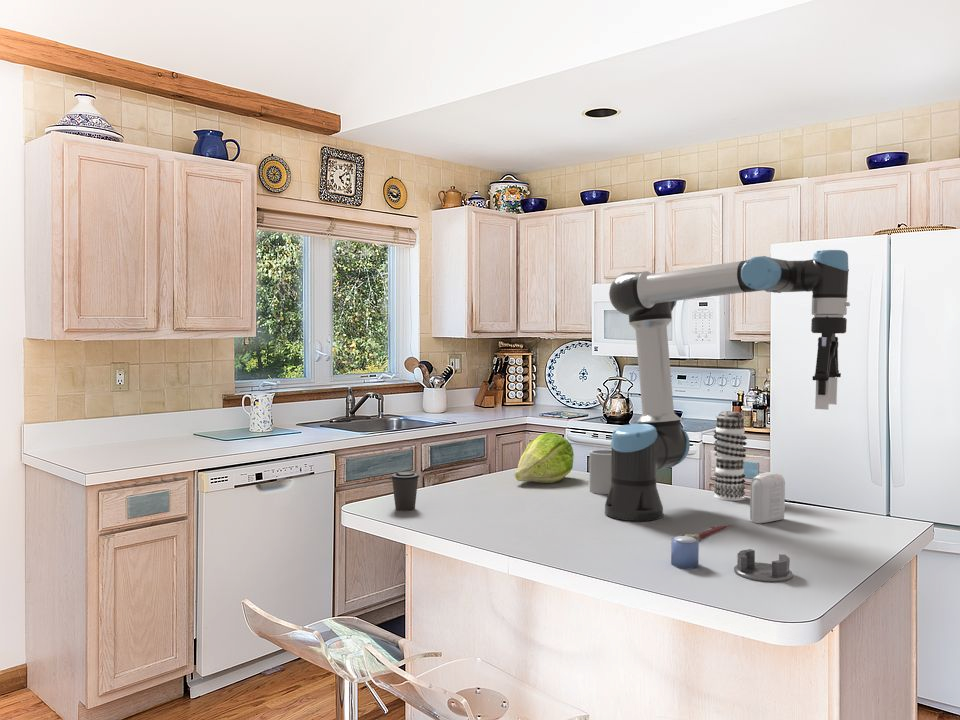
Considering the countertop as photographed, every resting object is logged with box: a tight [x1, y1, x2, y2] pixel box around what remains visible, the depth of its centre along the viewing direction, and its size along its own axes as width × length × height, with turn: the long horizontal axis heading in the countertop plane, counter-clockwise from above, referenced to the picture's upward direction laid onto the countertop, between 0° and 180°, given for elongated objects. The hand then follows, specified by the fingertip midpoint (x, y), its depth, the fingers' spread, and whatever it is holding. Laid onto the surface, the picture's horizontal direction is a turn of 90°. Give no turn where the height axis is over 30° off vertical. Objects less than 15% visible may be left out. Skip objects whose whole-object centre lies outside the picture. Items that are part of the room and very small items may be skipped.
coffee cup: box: [390, 470, 421, 512], centre depth 210 cm, size 8×8×10 cm
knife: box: [678, 524, 733, 541], centre depth 183 cm, size 29×2×5 cm
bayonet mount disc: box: [733, 548, 794, 583], centre depth 154 cm, size 11×11×4 cm
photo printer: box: [749, 471, 786, 524], centre depth 196 cm, size 10×4×12 cm, turn 123°
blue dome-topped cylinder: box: [670, 535, 700, 570], centre depth 159 cm, size 6×6×5 cm
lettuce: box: [514, 431, 575, 484], centre depth 249 cm, size 15×25×16 cm
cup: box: [588, 449, 612, 495], centre depth 232 cm, size 9×9×12 cm
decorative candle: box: [713, 410, 748, 502], centre depth 223 cm, size 9×9×25 cm
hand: (826, 406), depth 181 cm, fingers open, 13 cm apart
